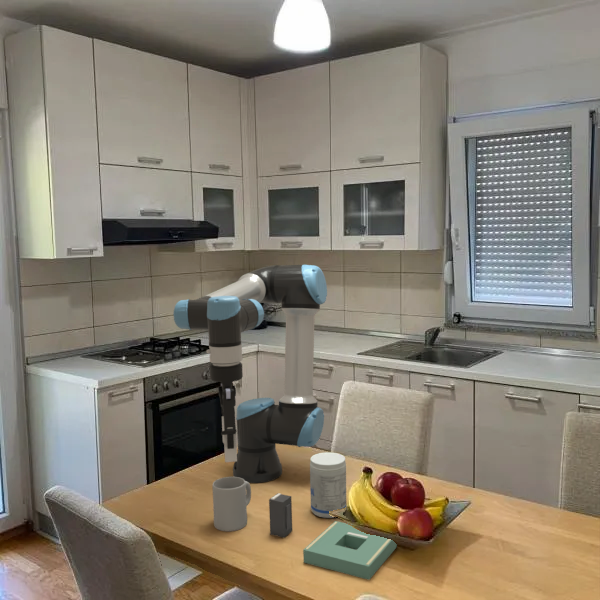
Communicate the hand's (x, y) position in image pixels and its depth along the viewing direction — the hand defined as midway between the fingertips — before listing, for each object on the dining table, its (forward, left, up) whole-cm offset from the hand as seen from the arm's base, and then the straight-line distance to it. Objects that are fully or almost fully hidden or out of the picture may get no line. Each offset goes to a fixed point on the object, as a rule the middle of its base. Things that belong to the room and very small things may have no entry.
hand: (229, 451), depth 149 cm
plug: (-10, +7, -23) cm, 26 cm away
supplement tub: (-26, +12, -23) cm, 37 cm away
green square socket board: (-8, +27, -23) cm, 37 cm away
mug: (-10, -7, -23) cm, 26 cm away
